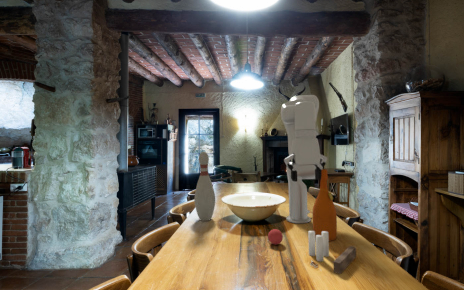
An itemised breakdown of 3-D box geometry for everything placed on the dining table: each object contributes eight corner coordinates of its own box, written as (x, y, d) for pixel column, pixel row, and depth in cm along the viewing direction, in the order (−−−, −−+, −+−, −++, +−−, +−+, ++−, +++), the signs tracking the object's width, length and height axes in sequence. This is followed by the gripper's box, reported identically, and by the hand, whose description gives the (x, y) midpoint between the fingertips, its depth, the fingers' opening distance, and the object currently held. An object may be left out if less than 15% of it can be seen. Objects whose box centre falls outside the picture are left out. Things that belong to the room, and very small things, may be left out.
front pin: (310, 252, 98) (310, 230, 97) (316, 254, 96) (316, 231, 96) (307, 254, 96) (307, 231, 96) (313, 256, 94) (313, 233, 94)
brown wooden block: (350, 255, 94) (350, 245, 94) (356, 256, 93) (355, 247, 93) (333, 272, 83) (333, 261, 83) (340, 274, 81) (339, 263, 81)
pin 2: (323, 253, 97) (323, 230, 97) (329, 254, 95) (329, 232, 95) (320, 255, 95) (320, 232, 95) (327, 257, 93) (326, 233, 93)
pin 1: (317, 257, 93) (317, 234, 93) (324, 259, 91) (323, 235, 91) (315, 260, 91) (314, 236, 91) (321, 262, 90) (321, 237, 90)
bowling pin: (214, 222, 138) (213, 151, 138) (193, 222, 138) (191, 152, 138) (216, 216, 149) (214, 151, 149) (196, 216, 149) (194, 151, 149)
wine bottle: (321, 243, 106) (320, 170, 106) (308, 235, 115) (307, 168, 115) (342, 240, 109) (340, 169, 108) (327, 232, 118) (326, 167, 118)
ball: (273, 240, 111) (273, 226, 111) (285, 243, 107) (285, 229, 107) (265, 244, 106) (265, 230, 106) (277, 248, 102) (277, 233, 102)
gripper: (320, 135, 102) (321, 177, 102) (279, 135, 99) (281, 180, 99) (331, 134, 95) (332, 180, 95) (288, 135, 91) (289, 183, 92)
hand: (306, 180), depth 97 cm, fingers open, 9 cm apart
